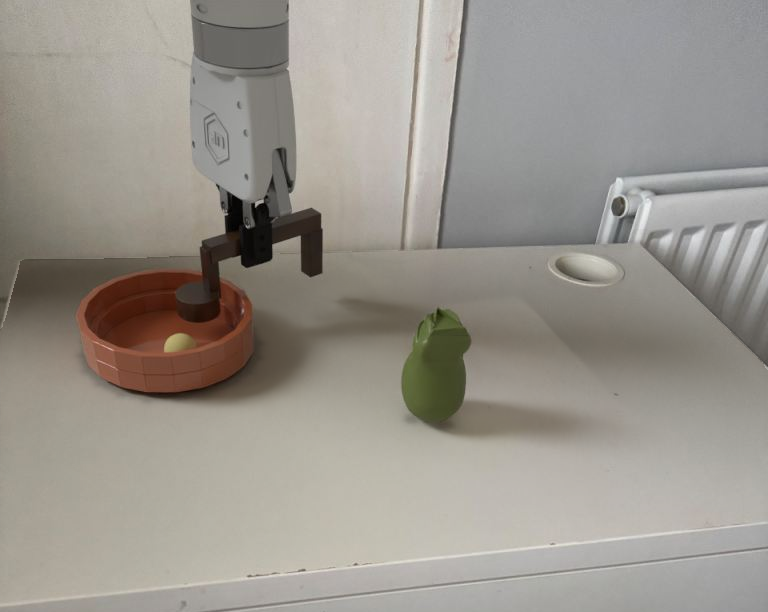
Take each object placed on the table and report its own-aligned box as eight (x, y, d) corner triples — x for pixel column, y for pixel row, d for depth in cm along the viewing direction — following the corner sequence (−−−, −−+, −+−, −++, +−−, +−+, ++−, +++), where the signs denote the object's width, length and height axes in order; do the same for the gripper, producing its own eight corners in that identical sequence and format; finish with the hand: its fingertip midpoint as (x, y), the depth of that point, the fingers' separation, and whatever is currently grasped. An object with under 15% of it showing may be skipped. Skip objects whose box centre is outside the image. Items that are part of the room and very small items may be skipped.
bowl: (56, 337, 78) (47, 297, 76) (198, 292, 86) (194, 254, 83) (137, 418, 70) (130, 377, 68) (286, 360, 78) (285, 320, 75)
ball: (170, 360, 77) (179, 329, 76) (198, 372, 76) (208, 341, 76) (153, 359, 74) (163, 327, 73) (182, 371, 73) (192, 339, 73)
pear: (447, 393, 76) (461, 294, 69) (471, 427, 73) (488, 327, 66) (390, 402, 74) (399, 302, 68) (412, 438, 71) (423, 336, 64)
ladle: (191, 327, 76) (184, 263, 72) (169, 308, 78) (160, 245, 74) (330, 278, 84) (330, 217, 80) (306, 262, 86) (305, 202, 82)
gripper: (148, 22, 68) (171, 235, 81) (258, 77, 60) (264, 305, 73) (227, 12, 72) (237, 218, 85) (340, 63, 64) (332, 282, 77)
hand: (249, 257), depth 79 cm, fingers closed on ladle
